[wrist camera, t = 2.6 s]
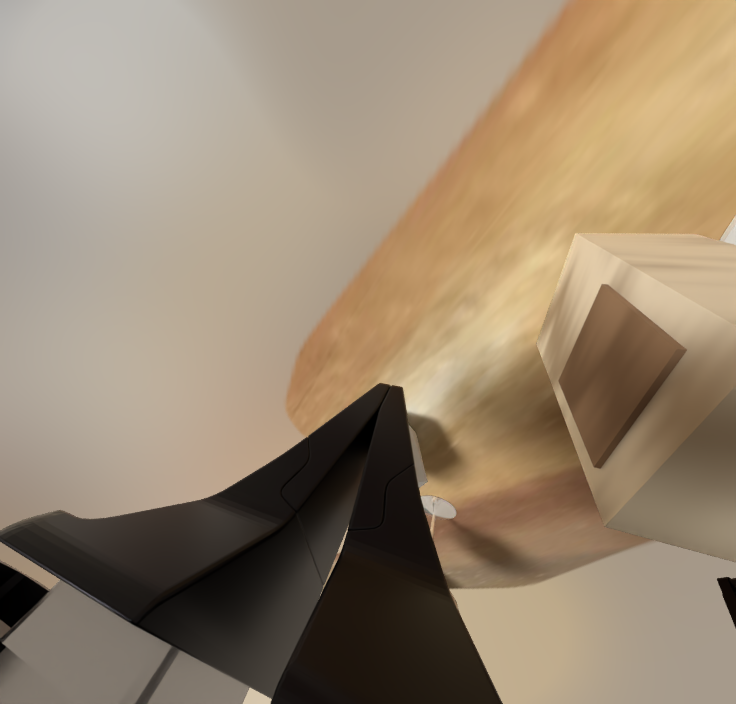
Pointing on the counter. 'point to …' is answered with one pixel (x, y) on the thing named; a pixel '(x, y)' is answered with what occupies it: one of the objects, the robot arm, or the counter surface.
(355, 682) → the robot arm
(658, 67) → the counter surface
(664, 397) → the birch block
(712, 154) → the counter surface
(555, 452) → the counter surface
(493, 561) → the counter surface
